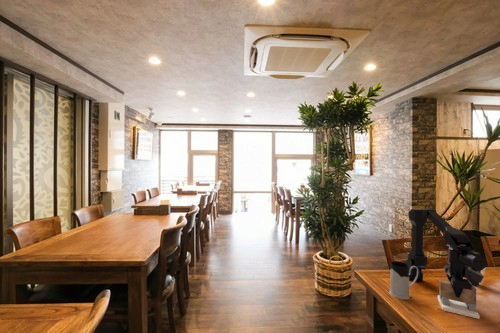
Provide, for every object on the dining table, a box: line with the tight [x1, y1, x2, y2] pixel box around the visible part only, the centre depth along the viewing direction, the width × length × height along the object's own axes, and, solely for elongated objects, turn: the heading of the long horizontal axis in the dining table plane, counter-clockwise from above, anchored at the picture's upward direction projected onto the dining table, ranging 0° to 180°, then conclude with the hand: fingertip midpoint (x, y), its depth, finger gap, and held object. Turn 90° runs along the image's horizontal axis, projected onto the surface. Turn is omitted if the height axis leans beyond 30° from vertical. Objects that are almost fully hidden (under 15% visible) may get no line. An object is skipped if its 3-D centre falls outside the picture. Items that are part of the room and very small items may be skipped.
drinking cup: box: [465, 251, 482, 287], centre depth 127 cm, size 8×8×20 cm
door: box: [438, 279, 477, 305], centre depth 105 cm, size 12×3×7 cm, turn 60°
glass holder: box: [388, 260, 419, 301], centre depth 116 cm, size 9×14×15 cm, turn 95°
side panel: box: [437, 294, 480, 320], centre depth 105 cm, size 12×11×4 cm
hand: (456, 295), depth 105 cm, fingers closed on door, 3 cm apart
